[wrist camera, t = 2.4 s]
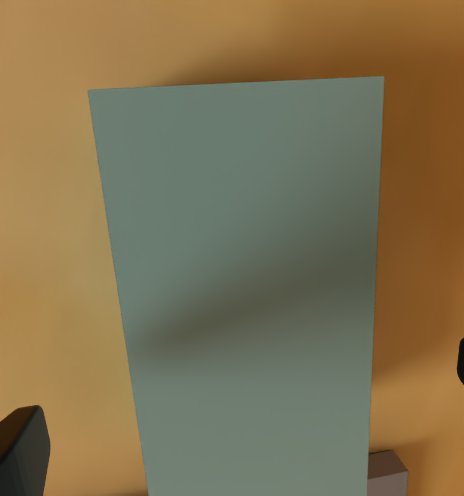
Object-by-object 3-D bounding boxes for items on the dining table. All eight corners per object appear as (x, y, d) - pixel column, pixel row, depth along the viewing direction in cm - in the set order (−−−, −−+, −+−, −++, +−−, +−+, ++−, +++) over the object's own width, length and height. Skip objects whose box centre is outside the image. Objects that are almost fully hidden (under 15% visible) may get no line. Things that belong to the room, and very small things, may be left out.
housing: (157, 434, 16) (158, 564, 11) (112, 105, 12) (87, 89, 8) (305, 407, 17) (365, 517, 12) (302, 95, 13) (384, 76, 9)
